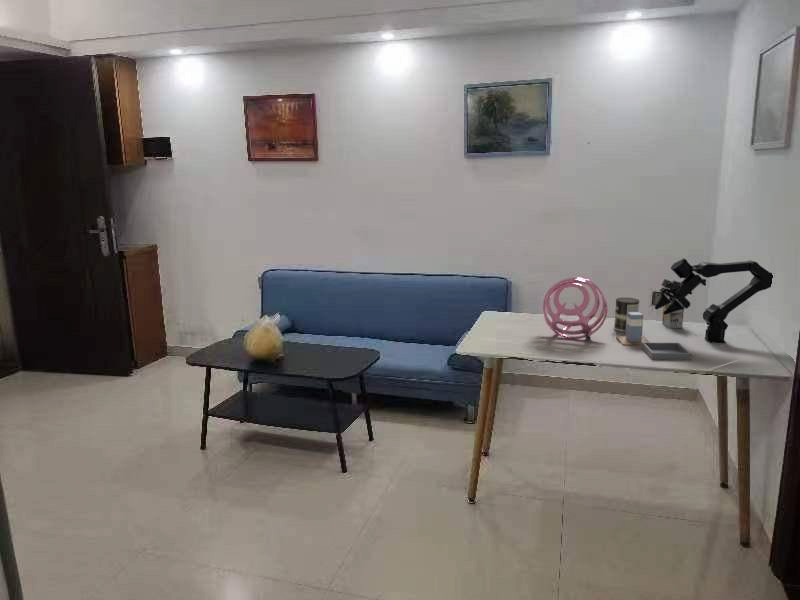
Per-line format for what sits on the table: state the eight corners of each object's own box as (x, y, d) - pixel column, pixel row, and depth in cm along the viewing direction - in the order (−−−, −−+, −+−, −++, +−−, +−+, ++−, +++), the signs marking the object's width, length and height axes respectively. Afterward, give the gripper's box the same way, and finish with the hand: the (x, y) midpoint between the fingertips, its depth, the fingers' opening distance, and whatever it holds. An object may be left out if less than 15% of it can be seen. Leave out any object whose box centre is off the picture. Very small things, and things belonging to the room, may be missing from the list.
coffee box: (683, 328, 274) (685, 294, 270) (669, 328, 274) (672, 294, 270) (674, 322, 283) (677, 290, 279) (661, 323, 283) (663, 290, 279)
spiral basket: (562, 283, 284) (554, 259, 261) (619, 303, 270) (615, 279, 247) (537, 333, 279) (527, 313, 256) (593, 356, 265) (588, 337, 242)
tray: (677, 349, 242) (678, 342, 241) (690, 361, 228) (691, 353, 227) (641, 349, 244) (641, 342, 243) (651, 360, 230) (652, 353, 229)
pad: (644, 338, 258) (644, 336, 258) (652, 346, 247) (652, 344, 247) (616, 338, 260) (616, 336, 260) (622, 346, 248) (622, 344, 248)
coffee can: (613, 330, 272) (615, 301, 269) (614, 325, 281) (616, 296, 278) (637, 332, 268) (639, 302, 265) (637, 326, 277) (639, 298, 274)
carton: (637, 338, 256) (639, 311, 253) (641, 341, 251) (643, 314, 248) (625, 338, 256) (627, 312, 253) (629, 341, 251) (631, 315, 248)
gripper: (665, 269, 257) (638, 294, 259) (685, 276, 238) (656, 303, 241) (682, 286, 258) (655, 310, 261) (702, 295, 240) (673, 321, 243)
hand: (659, 311), depth 251 cm, fingers open, 9 cm apart
